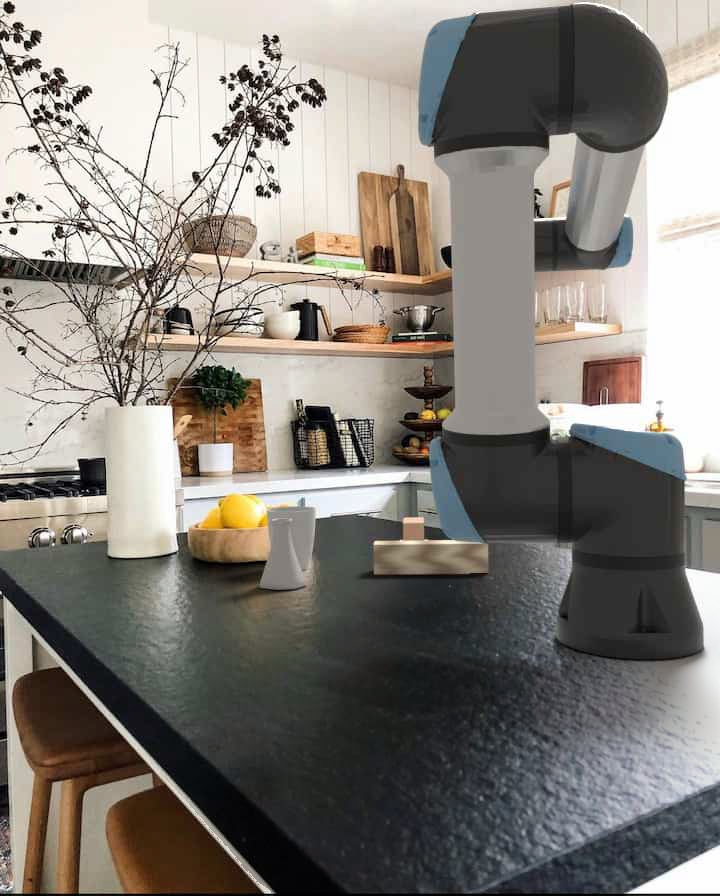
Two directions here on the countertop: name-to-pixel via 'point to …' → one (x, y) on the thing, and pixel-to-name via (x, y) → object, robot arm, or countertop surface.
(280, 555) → the flask
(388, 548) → the bar
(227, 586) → the countertop surface
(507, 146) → the robot arm
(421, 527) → the block
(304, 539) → the cup
